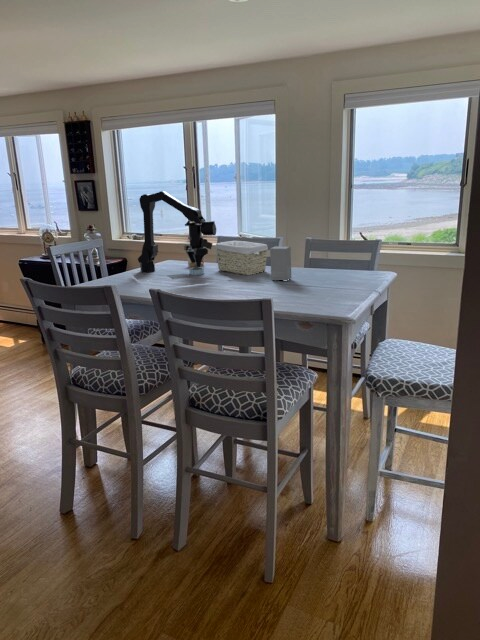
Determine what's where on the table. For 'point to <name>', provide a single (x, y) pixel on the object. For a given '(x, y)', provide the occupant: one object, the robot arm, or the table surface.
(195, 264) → the lid
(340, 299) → the table surface
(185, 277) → the mat
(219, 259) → the storage basket
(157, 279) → the table surface
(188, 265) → the teacup with lid
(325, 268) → the table surface
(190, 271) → the bowl
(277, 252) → the skincare box
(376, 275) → the table surface
